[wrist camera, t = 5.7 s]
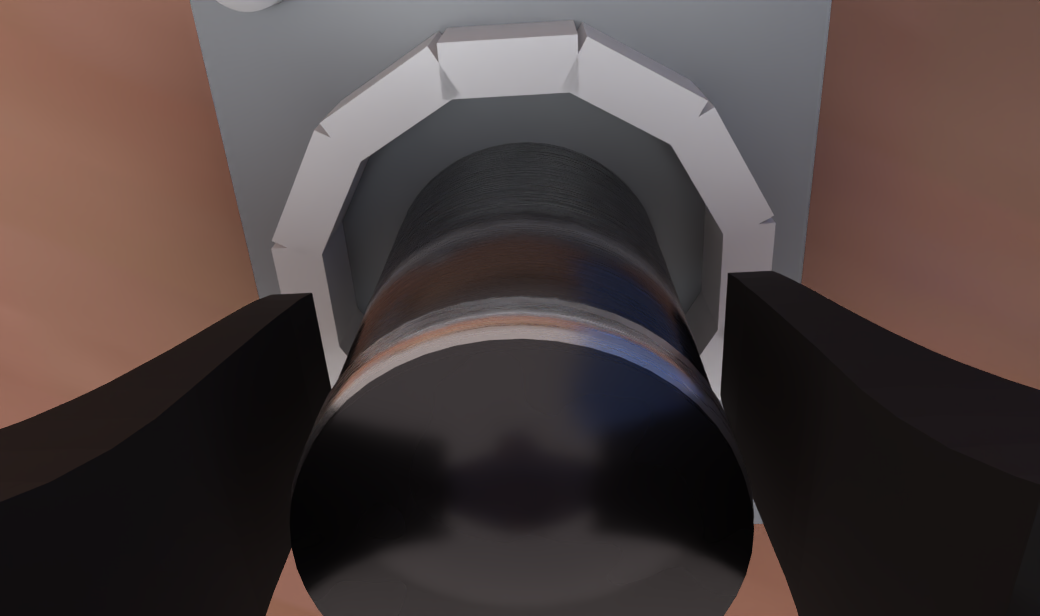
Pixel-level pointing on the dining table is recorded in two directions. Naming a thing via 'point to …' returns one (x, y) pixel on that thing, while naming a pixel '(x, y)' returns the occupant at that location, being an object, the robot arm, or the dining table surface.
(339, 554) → the lens
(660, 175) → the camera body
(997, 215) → the dining table surface
